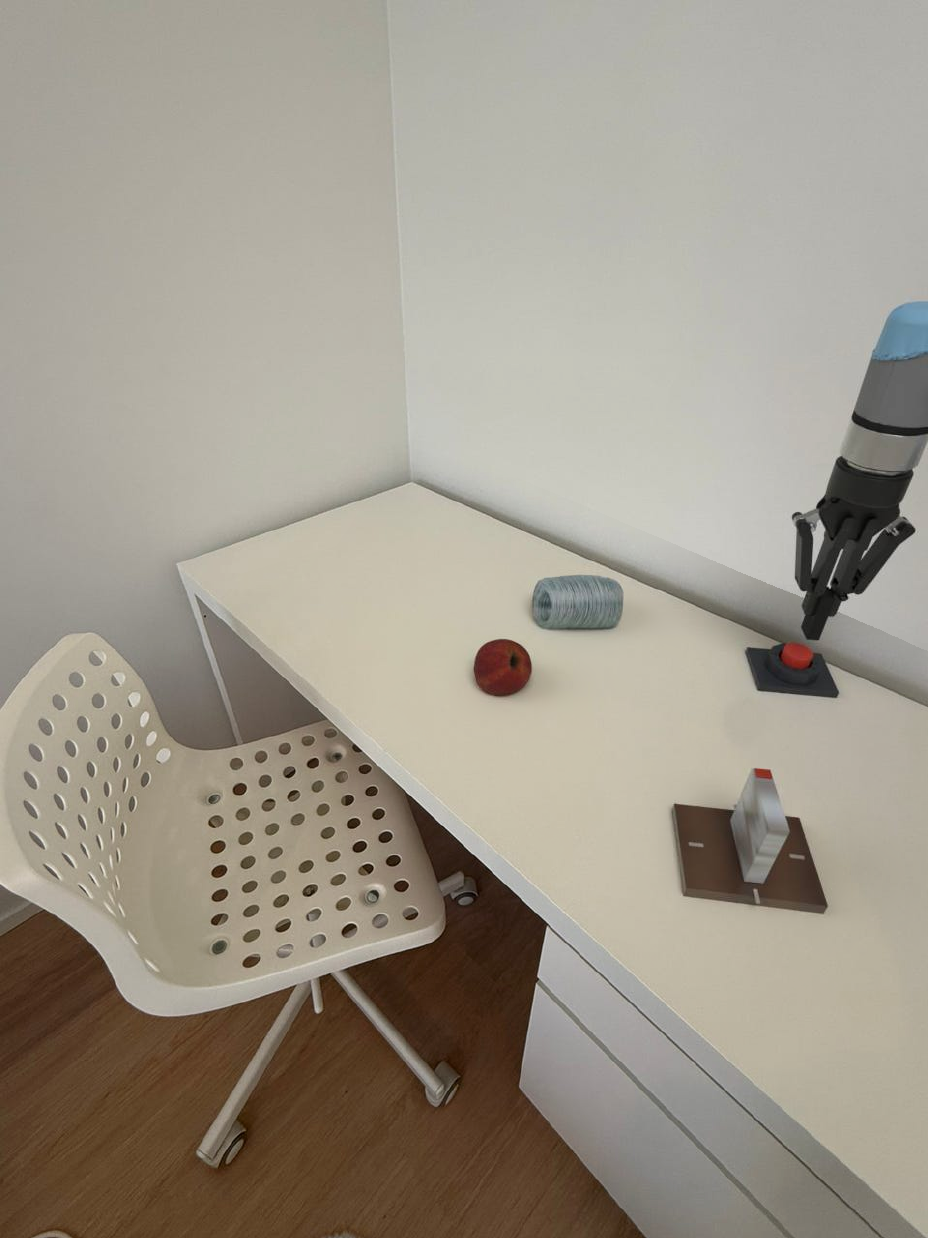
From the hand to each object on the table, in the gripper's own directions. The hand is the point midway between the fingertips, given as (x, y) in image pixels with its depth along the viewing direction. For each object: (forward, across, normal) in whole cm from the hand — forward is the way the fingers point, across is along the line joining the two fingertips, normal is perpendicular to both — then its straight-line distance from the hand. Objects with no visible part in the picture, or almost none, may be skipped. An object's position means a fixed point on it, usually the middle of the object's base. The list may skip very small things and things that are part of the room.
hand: (809, 633), depth 84 cm
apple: (+8, +40, +7) cm, 41 cm away
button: (+5, 0, 0) cm, 5 cm away
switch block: (+8, 0, 0) cm, 8 cm away
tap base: (+8, +12, +30) cm, 33 cm away
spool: (+8, +30, -9) cm, 32 cm away
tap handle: (+6, +12, +30) cm, 33 cm away
